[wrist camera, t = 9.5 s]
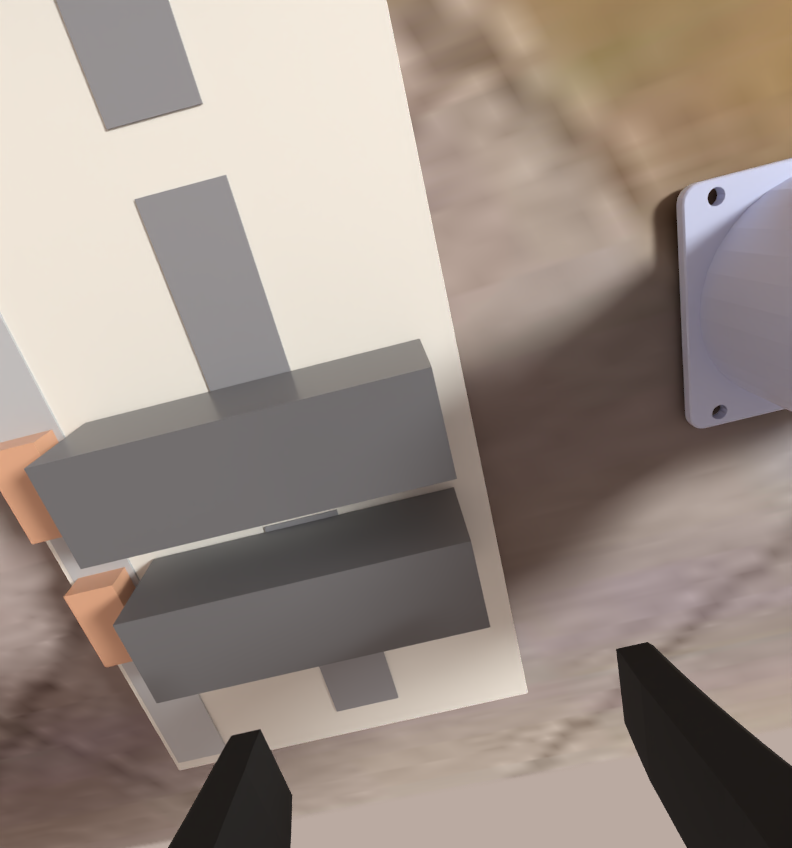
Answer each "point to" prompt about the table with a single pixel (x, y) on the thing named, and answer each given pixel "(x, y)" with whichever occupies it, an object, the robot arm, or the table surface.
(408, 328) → the switch panel
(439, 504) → the slider
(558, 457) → the table surface
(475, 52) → the table surface
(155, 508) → the slider middle
